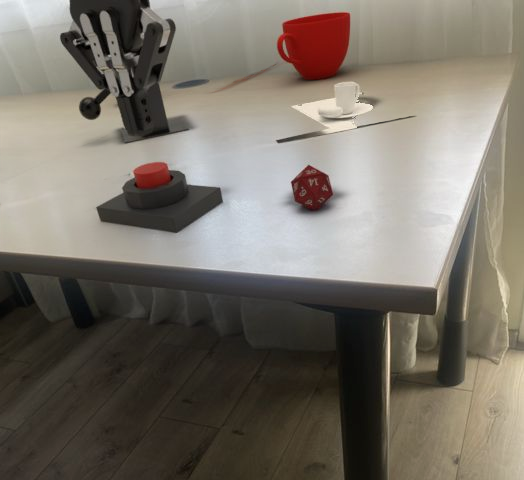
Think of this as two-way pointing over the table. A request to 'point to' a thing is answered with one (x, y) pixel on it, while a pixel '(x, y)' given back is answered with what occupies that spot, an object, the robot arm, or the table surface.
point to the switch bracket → (157, 118)
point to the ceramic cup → (316, 43)
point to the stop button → (152, 175)
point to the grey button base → (160, 204)
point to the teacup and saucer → (333, 111)
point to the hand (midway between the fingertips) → (141, 134)
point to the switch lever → (93, 105)
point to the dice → (311, 188)
